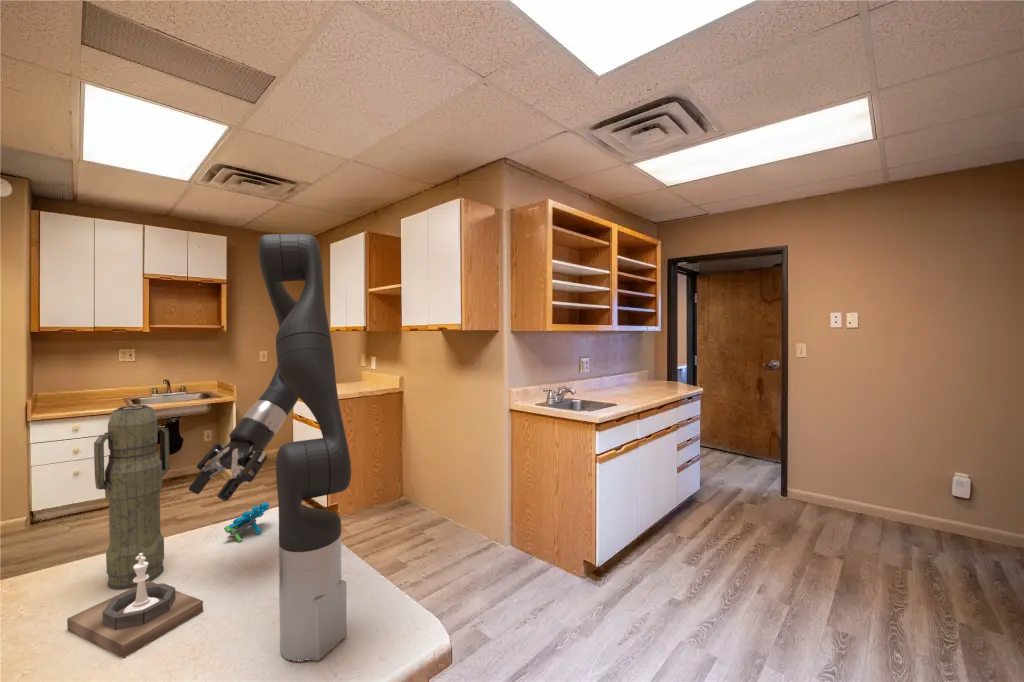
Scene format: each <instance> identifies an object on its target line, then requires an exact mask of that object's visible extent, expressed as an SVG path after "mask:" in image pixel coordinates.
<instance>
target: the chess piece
mask: <svg viewBox="0 0 1024 682" xmlns="http://www.w3.org/2000/svg"><path fill="white" fill-rule="evenodd" d="M136 560H139V563H137V564H136V565H134V567H133V569H134V570H135V572H136V575H137V577H135V578H134V580H133V582H135V583H137V582H138V584H137V593H136V599H135V601H134V602H133V603H132V604H130V605H129V606H127V607H126V608H125V610H124V612H123V613H128V612H133V611H138V610H143V609H145V608H147V607H149V606H151V605H153V604H155V603H157V602H159V599H157V598H150V597H148V595H147V591H146V585H145V580H147V579H148V578H149V575H148V574H145V572H146V569H147V567H148V562H143V561H144V560H146V557H143V553H140V554H138V556H137V557H136Z"/></svg>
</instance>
